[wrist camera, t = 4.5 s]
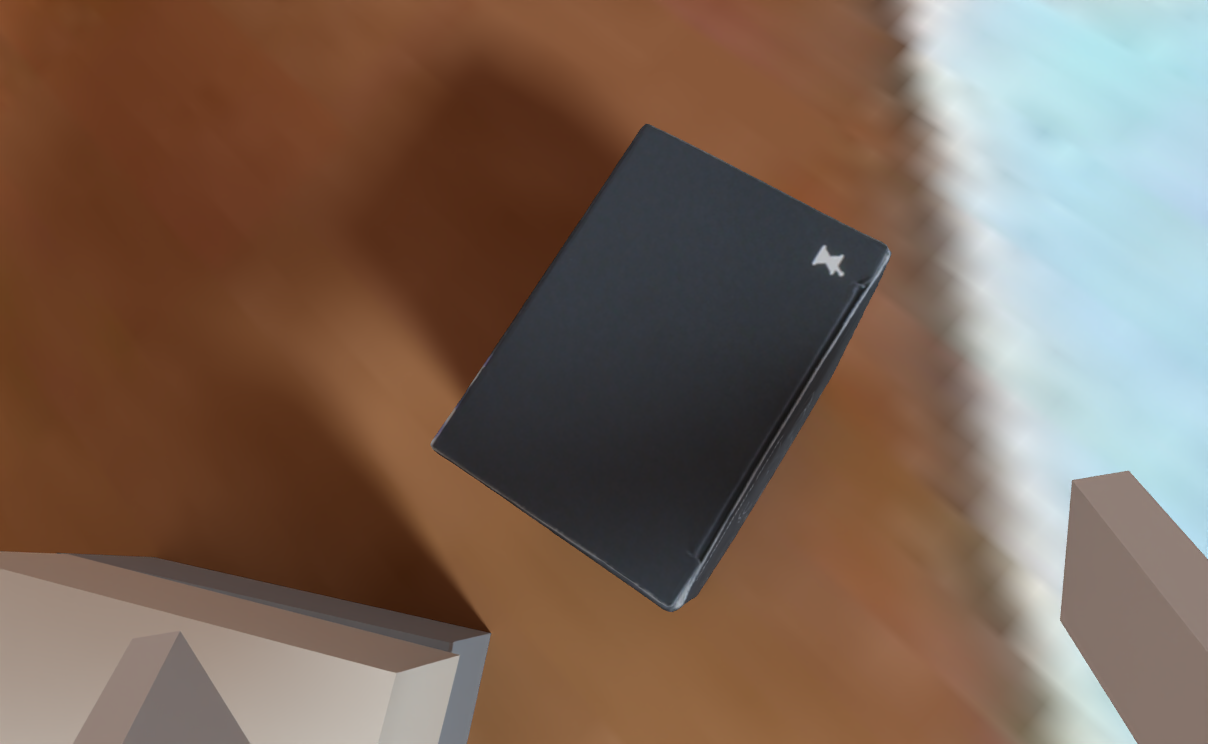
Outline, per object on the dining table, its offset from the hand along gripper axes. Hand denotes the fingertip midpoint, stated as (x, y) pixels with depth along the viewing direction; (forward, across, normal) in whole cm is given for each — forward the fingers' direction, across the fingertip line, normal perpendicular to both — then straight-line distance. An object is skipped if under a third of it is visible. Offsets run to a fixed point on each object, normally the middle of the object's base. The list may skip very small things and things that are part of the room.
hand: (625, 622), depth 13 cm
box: (+12, +1, -6) cm, 14 cm away
